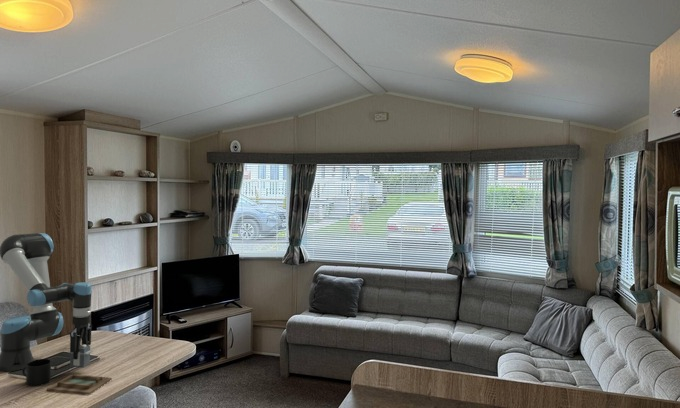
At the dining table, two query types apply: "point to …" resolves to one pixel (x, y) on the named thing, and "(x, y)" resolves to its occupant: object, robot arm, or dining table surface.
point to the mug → (38, 372)
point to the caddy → (79, 384)
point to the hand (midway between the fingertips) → (80, 363)
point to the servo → (82, 356)
